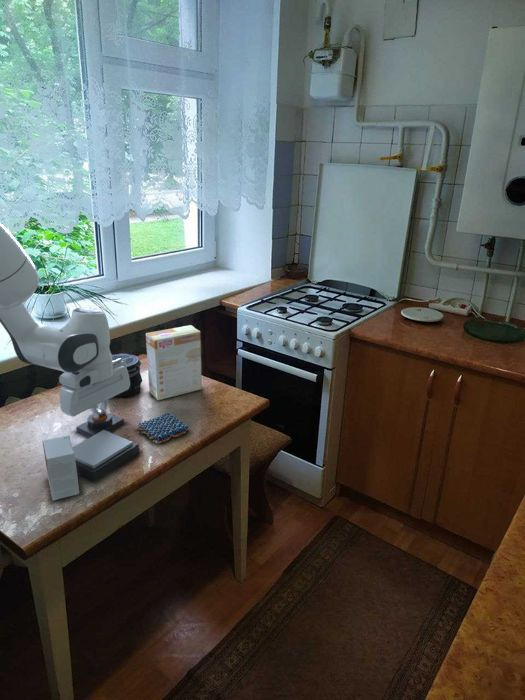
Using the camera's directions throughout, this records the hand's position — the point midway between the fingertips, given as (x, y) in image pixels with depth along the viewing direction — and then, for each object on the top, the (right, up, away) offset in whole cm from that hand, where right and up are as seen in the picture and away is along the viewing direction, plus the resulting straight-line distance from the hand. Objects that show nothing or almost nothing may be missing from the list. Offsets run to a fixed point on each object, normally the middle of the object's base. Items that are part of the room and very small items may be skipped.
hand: (99, 416), depth 131 cm
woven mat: (+17, -4, 0) cm, 17 cm away
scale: (+4, -8, -12) cm, 15 cm away
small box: (0, -13, -23) cm, 26 cm away
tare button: (0, -2, +1) cm, 2 cm away
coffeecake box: (+16, +5, +23) cm, 28 cm away
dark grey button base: (0, -3, +1) cm, 3 cm away
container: (0, +5, +22) cm, 23 cm away
